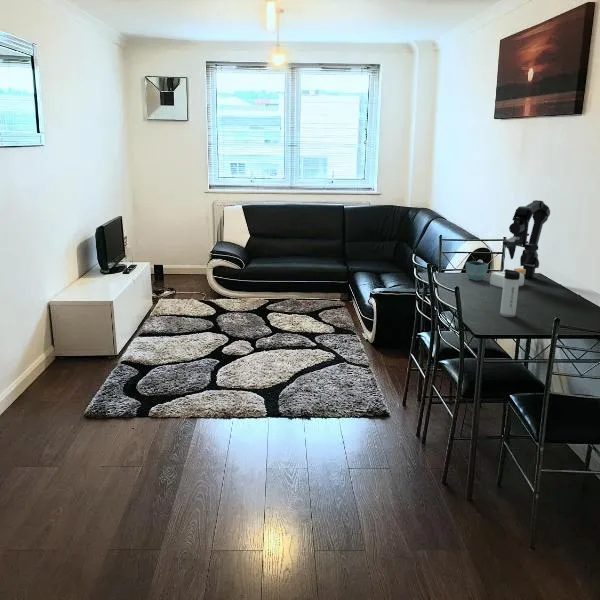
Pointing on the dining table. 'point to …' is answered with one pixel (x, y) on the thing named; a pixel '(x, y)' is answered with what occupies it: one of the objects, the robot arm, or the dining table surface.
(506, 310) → the travel mug
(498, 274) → the lid
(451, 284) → the dining table surface
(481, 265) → the flower pot
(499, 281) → the white open box
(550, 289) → the dining table surface
